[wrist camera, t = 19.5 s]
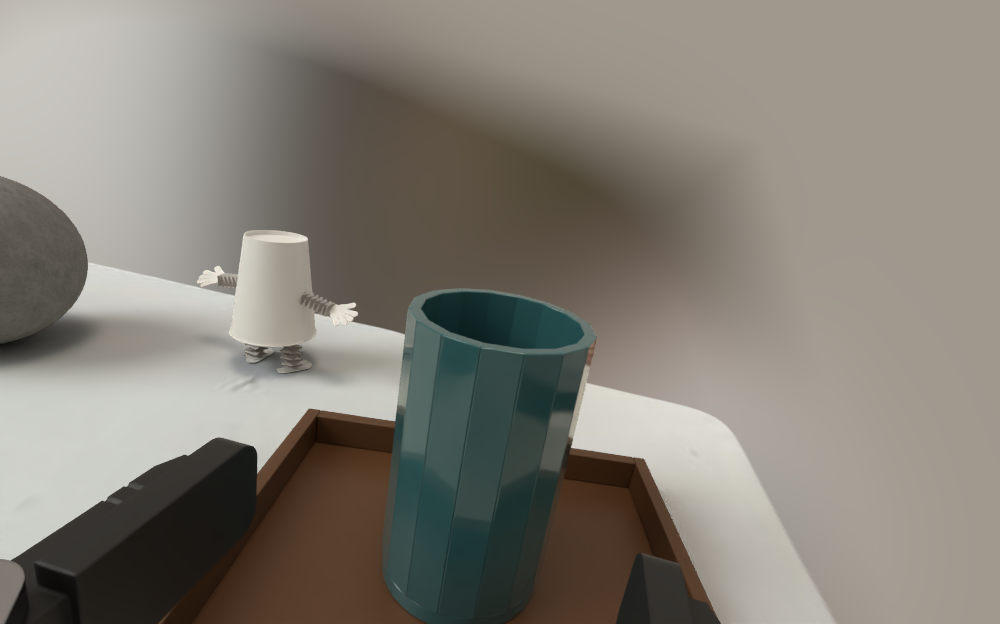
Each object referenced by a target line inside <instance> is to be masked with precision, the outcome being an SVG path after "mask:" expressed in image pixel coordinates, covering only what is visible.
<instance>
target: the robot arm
mask: <svg viewBox="0 0 1000 624" xmlns="http://www.w3.org/2000/svg"><path fill="white" fill-rule="evenodd" d="M256 505H257V452H256V449H255V448H254V447H253V446H250V445H246V444H243V443H239V442H235V441H231V440H228V439H224V438H215V439H213V440H211V441H209V442H208V443H207V444H205V445H204V446H202V447H201V448H199V449H198V450H196V451H195V452H193V453H192V454H191V455H189V456H187V455H183V456H180V457H177V458H175V459H172V460H170V461H167V462H165V463H162V464H159V465H157V466H154V467H153V468H151V469H150V470H148V471H147V472H145V473H144V474H142V475H141V476H139V477H138V478H136V479H134V480H133V481H131V482H130V483H129V485H128V486H127V487H122V488H121V489H119V490H118V491H116V492H115V493H113V494H112V495H110V496H109V497H108V498H107V500H106V501H105V502H104V501H101V502H100V503H98V504H96V505H95V506H93V507H92V508H90V509H89V510H87V511H86V512H84V513H83V514H81V515H80V516H78V517H77V518H75V519H74V520H72V521H71V522H69V523H68V524H66V525H65V526H63V527H62V528H60V529H58V530H57V531H55V532H54V533H52V534H51V535H49V536H48V537H46V538H45V539H43V540H42V541H40V542H39V543H37V544H36V545H34V546H33V547H31V548H30V549H28V550H27V551H25V552H24V553H22V554H21V555H19V556H17V557H16V558H14V559H12V560H11V561H9V560H3V559H0V624H158V623H159V622H160V621H161V620H162V619H163V618H164V617H165V616H166V615H167V614H168V613H169V612H170V611H171V610H172V609H173V608H174V607H175V606H176V605H177V604H178V603H179V602H180V601H181V600H182V598H183V597H184V596H185V595H186V594H187V593H188V592H189V591H190V590H191V589H192V588H193V587H194V586H195V585H196V584H197V583H198V582H199V581H200V580H201V579H202V578H203V577H204V576H205V575H206V574H207V573H208V572H209V571H210V570H211V569H212V568H213V567H214V566H215V565H216V564H217V563H218V562H219V561H220V560H221V559H222V558H223V557H224V556H225V555H226V553H227V552H228V551H229V550H230V549H231V548H232V547H233V546H234V545H235V544H236V543H237V542H238V541H239V540H240V539H241V538H242V537H243V536H244V534H245V533H246V532H247V530H248V529H249V527H250V525H251V523H252V521H253V518H254V515H255V512H256ZM616 624H721V623H720V622H719V620H718V619H717V617H716V616H715V614H714V613H713V611H712V610H711V608H710V607H709V605H708V603H707V602H703V601H699V600H696V599H692V598H689V597H688V594H687V590H686V585H685V580H684V576H683V571H682V568H681V566H680V564H679V563H676V562H672V561H668V560H665V559H661V558H657V557H654V556H650V555H646V554H643V553H638V554H637V555H636V557H635V560H634V563H633V566H632V570H631V573H630V576H629V579H628V583H627V586H626V589H625V592H624V596H623V599H622V602H621V605H620V609H619V612H618V616H617V621H616Z"/></svg>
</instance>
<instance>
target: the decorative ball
mask: <svg viewBox="0 0 1000 624" xmlns="http://www.w3.org/2000/svg"><path fill="white" fill-rule="evenodd" d="M87 270H88V260H87V254H86V249H85V246H84V242H83V240H82V238H81V235H80V234H79V232H78V231H77V228H76V227H75V226H74V224H73V223H72V222H71V220H70V219H69V218H68V217H67V216H66V215H65V213H64V212H63V211H62V210H61V209H59V208H58V207H57V206H56V205H55V204H53V203H52V202H51V201H49V200H48V199H47V198H46V197H44V196H43V195H41V194H39V193H38V192H36V191H34V190H32V189H31V188H29V187H27V186H24V185H22V184H20V183H18V182H15V181H13V180H10V179H7V178H4V177H1V176H0V344H2V343H6V342H11V341H15V340H18V339H21V338H24V337H27V336H30V335H32V334H34V333H36V332H38V331H40V330H42V329H44V328H46V327H48V326H49V325H51V324H53V323H54V322H55V321H57V320H58V319H59V318H61V317H62V316H63V315H64V314H65V313H66V312H67V311H68V310H69V309H70V308H71V307H72V306H73V304H74V303H75V302H76V301H77V299H78V297H79V296H80V294H81V292H82V290H83V287H84V285H85V281H86V277H87Z"/></svg>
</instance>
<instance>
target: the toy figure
mask: <svg viewBox="0 0 1000 624" xmlns="http://www.w3.org/2000/svg"><path fill="white" fill-rule="evenodd" d="M215 271H216V273H214V272H211V271H208V270H206V271H204V272H203V274H204V275H201V276H200V277H199V279H200V280H198V281H197V283H202V284H201V285H200V286H201V287H204V286H206V285H209V284H214V283H218V285H219V286H222V287H225V286H226V287H230V288H232V287H234V288H236V293H235V300H234V307H233V314H232V322H231V328H230V330H229V333H230V336H231V337H233V338H234V339H235V340H237V341H240V342H242V343H245V346H248V347H249V348H247V349H245V353H246V355H244V356H246V357H247V359H246V361H247V362H249V363H256V362H258V361H260V360H262V359H263V358H265V357H267V356H268V355H270V354H272V353H274V350H271V349H268V347H284V348H283V349H282V350H281V351H280V352H282V353H283V354H284V355H283V356H281V357H280V358H282V359H283V360H285V361H283V362H282V363H280V364H283V365H285V366H283V367H281V368H278V369H277V372H279V373H289V372H294V371H300V370H305V369H308V368H310V367H311V366H312V364H311V363H310V362H309V361H306V360H302V358H299V356H300V355H302V352H299V351H298V350H300V349H301V348H302V346H299V345H297V344H301V343H304V342H307V341H309V340H310V339H312V338H313V337H314V336H315V335H316V329H315V320H314V312H316V311H318V313H319V314H321V313H322V315H323V316H325V317H326V316H328V315H330V316H331V318H332V319H333V323H334V325H335V326H337V325H339V320H340V322H341V324H342V325H346V324H347V323H348V322H347V321H349V322H351V321H352V320H353V317H354V316H357V315H358V313H357V312H356V311H351V310H347V309H350V308H354V307H355V306H356V304H355V303H350V304H343V305H337V304H335V303H331V301H330V302H327V299H325V300H323V298H322V297H321V298H318V295H317V296H314V293H312V284H311V272H310V261H309V249H308V239H307V237H305V236H303V235H300V234H295V233H291V232H284V231H275V230H274V231H273V230H254V231H248V232H245V233H244V236H243V244H242V251H241V258H240V265H239V272H238V274H230V273H229V274H228V273H225V274H224V272H223V271H222V270H221V267H220V266H217V267H215ZM207 278H208V279H207ZM204 282H205V283H204ZM346 313H347V314H346ZM348 314H349V315H348ZM350 315H351V316H350ZM343 316H344V317H345V318H346V319H347V320H346V319H344V317H343ZM352 316H353V317H352ZM338 318H339V320H338Z"/></svg>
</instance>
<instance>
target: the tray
mask: <svg viewBox="0 0 1000 624" xmlns="http://www.w3.org/2000/svg"><path fill="white" fill-rule="evenodd" d="M394 431H395V421H388V420H381V419H375V418H368V417H361V416H355V415H348V414H341V413H335V412H328V411H320V410H316V409H308V411H307V412H306V413H305V415H304V416H303V417H302V418H301V420H300V421H299V422H298V423H297V425H296V426H295V427H294V428H293V430H292V431H291V432H290V433H289V435H288V436H287V437H286V438H285V440H284V441H283V442H282V443H281V445H280V446H279V447H278V449H277V450H276V451H275V452H274V454H273V455H272V456H271V457H270V459H269V460H268V461H267V462H266V464H265V465H264V466H263V467H262V469H261V470H260V471H259V472H258V474H257V505H256V512H255V515H254V518H253V521H252V523H251V525H250V527H249V529H248V530H247V532H246V533H245V534H244V536H243V537H242V538H241V539H240V540H239V541H238V542H237V543H236V544H235V545H234V546H233V547H232V548H231V549H230V550H229V551H228V552H227V553H226V555H225V556H224V557H223V558H222V559H221V560H220V561H219V562H218V563H217V564H216V565H215V566H214V567H213V568H212V569H211V570H210V571H209V572H208V573H207V574H206V575H205V576H204V577H203V578H202V579H201V580H200V581H199V582H198V583H197V584H196V585H195V586H194V587H193V588H192V589H191V590H190V591H189V592H188V593H187V594H186V595H185V596H184V597H183V598H182V600H181V601H180V602H179V603H178V604H177V605H176V606H175V607H174V608H173V609H172V610H171V611H170V612H169V613H168V614H167V615H166V616H165V617H164V618H163V619H162V620H161V621H160V622H159V623H158V624H427V623H425V622H423V621H421V620H419V619H417V618H416V617H414V616H413V615H411V614H410V613H409V612H407V611H406V610H405V609H404V608H403V607H402V606H401V605H400V604H399V603H398V602H397V601H396V600H395V599H394V597H393V596H392V594H391V593H390V591H389V589H388V587H387V585H386V583H385V580H384V576H383V573H382V564H381V563H382V538H383V529H384V520H385V511H386V502H387V493H388V484H389V475H390V466H391V457H392V449H393V440H394ZM638 553H643V554H646V555H650V556H654V557H657V558H661V559H665V560H668V561H672V562H676V563H679V564H680V566H681V568H682V571H683V576H684V580H685V585H686V590H687V594H688V597H689V598H692V599H696V600H699V601H703V602H707V603H708V605H709V607H710V608H711V610H712V611H713V613H714V614H715V612H714V610H713V607H712V605H711V603H710V601H709V599H708V597H707V594H706V592H705V590H704V588H703V586H702V584H701V581H700V579H699V577H698V575H697V573H696V571H695V568H694V566H693V564H692V562H691V560H690V558H689V555H688V553H687V551H686V549H685V547H684V545H683V542H682V540H681V538H680V536H679V534H678V532H677V529H676V527H675V525H674V523H673V521H672V519H671V516H670V514H669V512H668V510H667V508H666V505H665V503H664V501H663V499H662V497H661V495H660V492H659V490H658V488H657V486H656V484H655V482H654V479H653V477H652V475H651V473H650V471H649V469H648V466H647V464H646V462H645V460H644V459H641V458H635V457H634V458H632V457H628V456H621V455H614V454H608V453H601V452H594V451H588V450H581V449H574V448H571V449H570V453H569V457H568V461H567V466H566V470H565V474H564V478H563V482H562V487H561V491H560V495H559V499H558V503H557V508H556V512H555V516H554V520H553V524H552V529H551V533H550V537H549V541H548V545H547V549H546V554H545V558H544V562H543V566H542V570H541V573H540V575H539V577H538V582H537V586H536V589H535V591H534V594H533V596H532V598H531V599H530V601H529V603H528V604H527V605H526V606H525V608H524V609H523V610H522V611H521V612H519V613H518V614H517V615H516V616H515V617H513V618H512V619H510V620H509V621H507V622H505V623H503V624H616V621H617V616H618V612H619V609H620V605H621V602H622V599H623V596H624V592H625V589H626V586H627V583H628V579H629V576H630V573H631V570H632V566H633V563H634V560H635V557H636V555H637V554H638ZM715 616H716V614H715ZM716 617H717V616H716ZM717 619H718V618H717Z"/></svg>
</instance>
